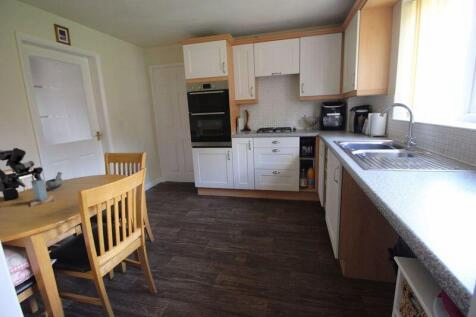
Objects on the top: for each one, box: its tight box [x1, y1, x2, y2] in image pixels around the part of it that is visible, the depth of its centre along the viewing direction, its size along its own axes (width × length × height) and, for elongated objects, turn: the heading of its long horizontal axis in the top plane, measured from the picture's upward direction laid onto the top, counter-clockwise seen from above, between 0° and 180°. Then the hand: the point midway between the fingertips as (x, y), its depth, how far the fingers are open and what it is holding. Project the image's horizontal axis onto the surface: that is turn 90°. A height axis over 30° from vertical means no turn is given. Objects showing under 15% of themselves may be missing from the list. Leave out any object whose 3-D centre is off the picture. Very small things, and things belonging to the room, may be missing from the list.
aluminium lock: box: [30, 178, 48, 201], centre depth 142 cm, size 4×5×13 cm
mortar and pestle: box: [44, 171, 63, 192], centre depth 167 cm, size 11×9×12 cm
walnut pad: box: [29, 195, 55, 207], centre depth 144 cm, size 11×10×1 cm
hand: (33, 184), depth 143 cm, fingers open, 9 cm apart
